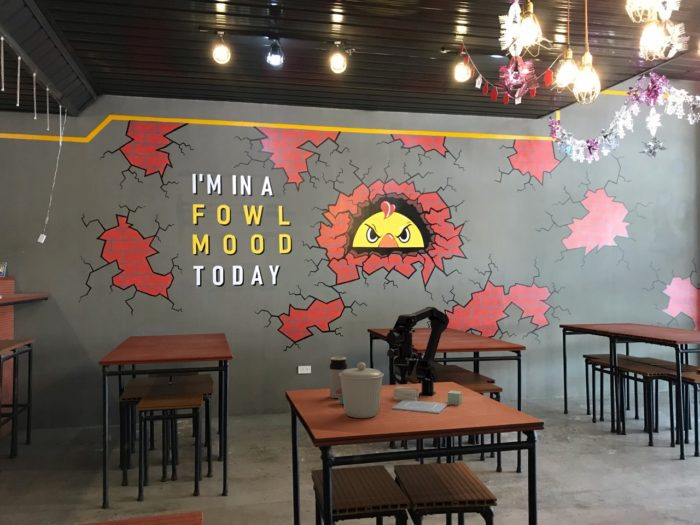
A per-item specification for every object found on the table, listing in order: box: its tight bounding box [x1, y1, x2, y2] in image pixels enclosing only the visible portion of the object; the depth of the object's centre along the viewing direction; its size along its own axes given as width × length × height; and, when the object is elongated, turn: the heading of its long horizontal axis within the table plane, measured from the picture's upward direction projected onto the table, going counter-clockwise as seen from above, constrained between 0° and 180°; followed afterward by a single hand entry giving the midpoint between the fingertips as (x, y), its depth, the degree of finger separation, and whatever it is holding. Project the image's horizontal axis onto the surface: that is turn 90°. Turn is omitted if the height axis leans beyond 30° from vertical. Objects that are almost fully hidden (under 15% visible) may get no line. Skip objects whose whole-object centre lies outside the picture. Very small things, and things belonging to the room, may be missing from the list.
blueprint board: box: [391, 400, 449, 414], centre depth 235 cm, size 16×20×1 cm
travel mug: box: [329, 356, 348, 399], centre depth 254 cm, size 8×8×18 cm
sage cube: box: [447, 390, 463, 406], centre depth 241 cm, size 5×5×5 cm
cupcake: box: [336, 387, 344, 405], centre depth 242 cm, size 9×8×12 cm
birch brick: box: [393, 385, 420, 401], centre depth 250 cm, size 6×10×5 cm, turn 70°
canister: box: [339, 361, 385, 419], centre depth 222 cm, size 18×18×21 cm
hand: (406, 377), depth 250 cm, fingers open, 9 cm apart
